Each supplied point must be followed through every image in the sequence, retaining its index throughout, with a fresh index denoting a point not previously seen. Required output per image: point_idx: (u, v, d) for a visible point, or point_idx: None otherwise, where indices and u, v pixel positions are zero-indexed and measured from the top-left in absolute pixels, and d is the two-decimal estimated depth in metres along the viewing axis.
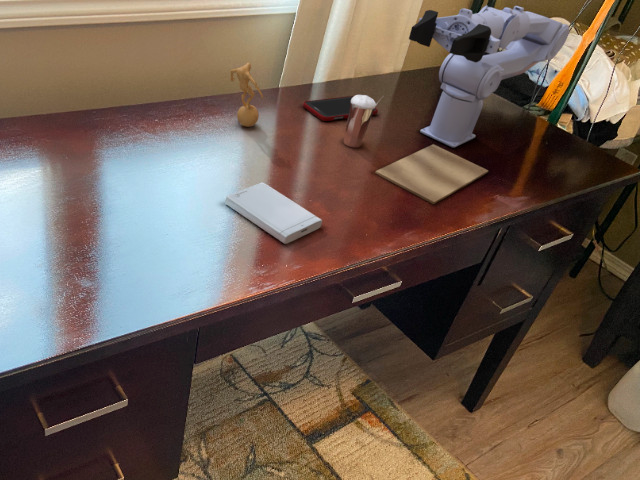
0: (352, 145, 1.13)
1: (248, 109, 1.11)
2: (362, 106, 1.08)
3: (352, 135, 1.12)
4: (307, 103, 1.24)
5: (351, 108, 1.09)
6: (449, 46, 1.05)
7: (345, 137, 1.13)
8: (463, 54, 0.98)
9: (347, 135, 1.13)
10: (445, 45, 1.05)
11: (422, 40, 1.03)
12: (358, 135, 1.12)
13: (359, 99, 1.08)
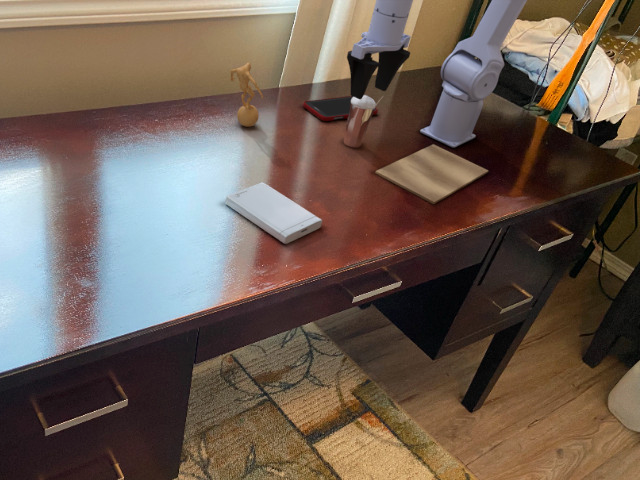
0: (352, 145, 1.13)
1: (248, 109, 1.11)
2: (362, 106, 1.08)
3: (352, 135, 1.12)
4: (307, 103, 1.24)
5: (351, 108, 1.09)
6: None
7: (345, 137, 1.13)
8: (363, 84, 1.03)
9: (347, 135, 1.13)
10: None
11: (393, 70, 1.07)
12: (358, 135, 1.12)
13: (359, 99, 1.08)
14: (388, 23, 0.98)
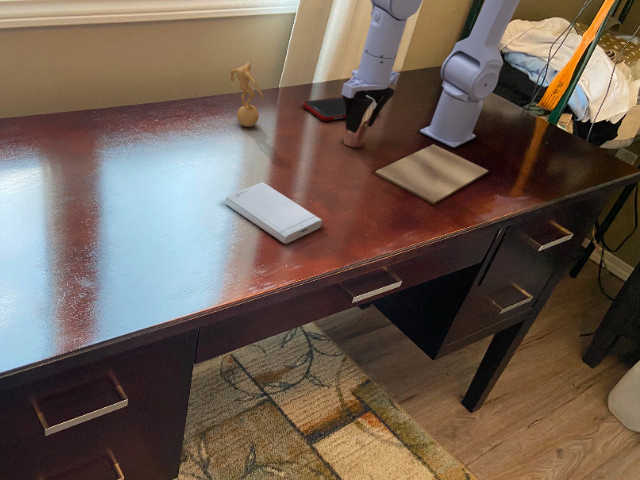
0: (352, 145, 1.13)
1: (248, 109, 1.11)
2: None
3: (352, 135, 1.12)
4: (307, 103, 1.24)
5: None
6: None
7: (345, 137, 1.13)
8: (357, 119, 1.08)
9: (347, 135, 1.12)
10: None
11: (378, 107, 1.10)
12: (358, 135, 1.12)
13: None
14: (376, 63, 1.02)
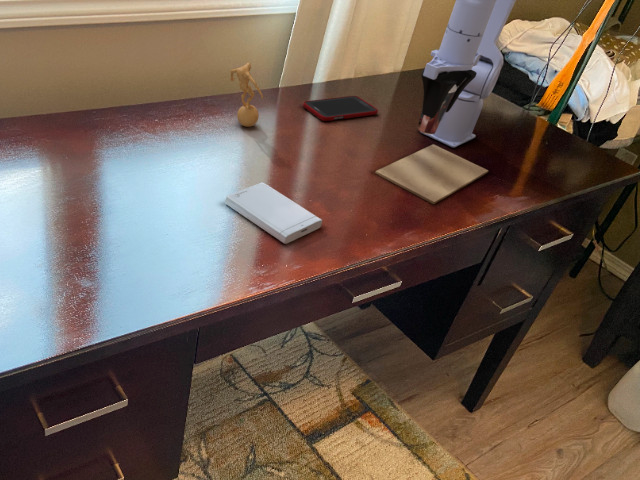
0: (428, 132, 1.05)
1: (248, 109, 1.11)
2: None
3: (429, 120, 1.04)
4: (307, 103, 1.24)
5: None
6: None
7: (420, 123, 1.05)
8: (437, 103, 1.00)
9: (423, 121, 1.04)
10: None
11: (457, 91, 1.02)
12: (435, 120, 1.04)
13: None
14: (462, 42, 0.94)
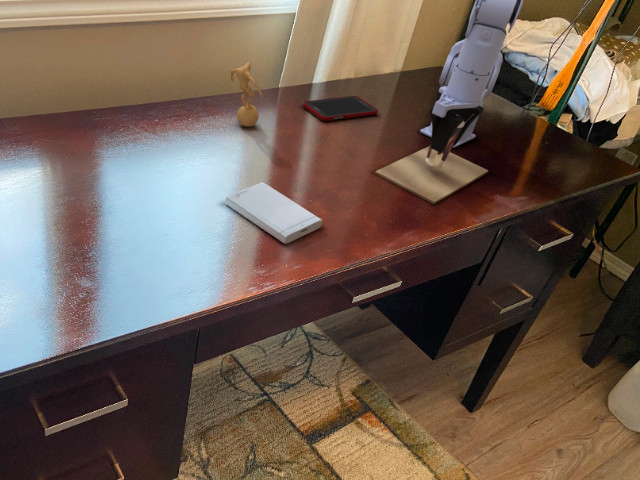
0: (436, 165, 1.07)
1: (248, 109, 1.11)
2: None
3: (437, 154, 1.06)
4: (307, 103, 1.24)
5: None
6: None
7: (428, 156, 1.07)
8: (445, 139, 1.02)
9: (431, 154, 1.07)
10: None
11: (465, 125, 1.05)
12: (443, 154, 1.06)
13: None
14: (470, 81, 0.96)
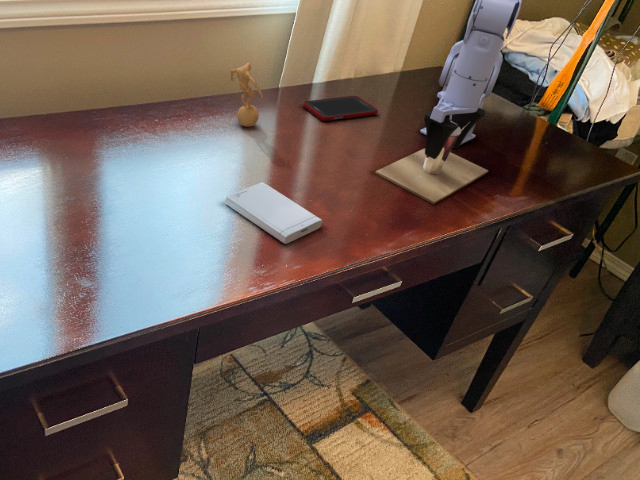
0: (433, 172, 1.08)
1: (248, 109, 1.11)
2: None
3: (434, 162, 1.07)
4: (307, 103, 1.24)
5: None
6: None
7: (425, 163, 1.08)
8: (439, 145, 1.02)
9: (428, 161, 1.08)
10: None
11: (467, 128, 1.06)
12: (440, 162, 1.07)
13: None
14: (468, 86, 0.97)
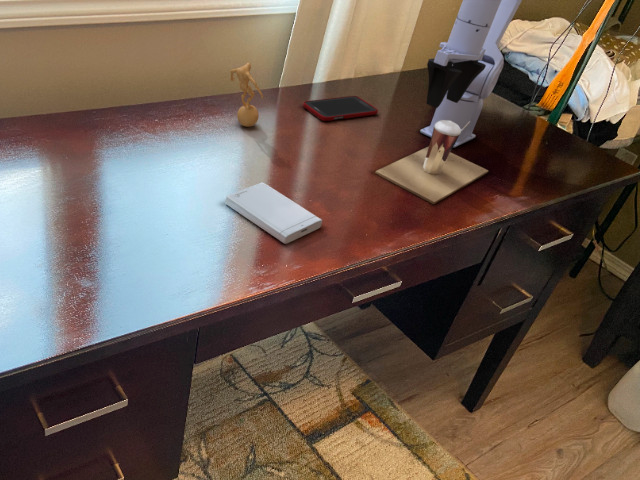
0: (433, 172, 1.08)
1: (248, 109, 1.11)
2: (448, 133, 1.03)
3: (434, 162, 1.07)
4: (307, 103, 1.24)
5: (435, 134, 1.04)
6: None
7: (425, 163, 1.08)
8: (442, 93, 1.03)
9: (428, 161, 1.08)
10: None
11: (467, 82, 1.07)
12: (440, 162, 1.07)
13: (444, 125, 1.03)
14: (472, 31, 0.98)
